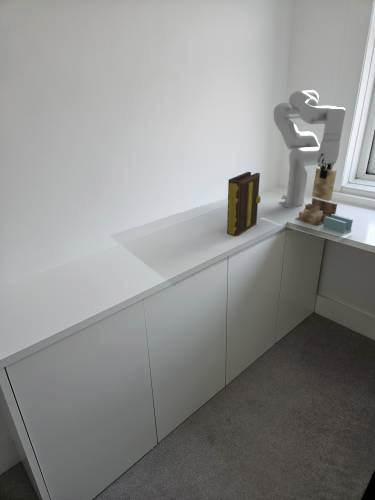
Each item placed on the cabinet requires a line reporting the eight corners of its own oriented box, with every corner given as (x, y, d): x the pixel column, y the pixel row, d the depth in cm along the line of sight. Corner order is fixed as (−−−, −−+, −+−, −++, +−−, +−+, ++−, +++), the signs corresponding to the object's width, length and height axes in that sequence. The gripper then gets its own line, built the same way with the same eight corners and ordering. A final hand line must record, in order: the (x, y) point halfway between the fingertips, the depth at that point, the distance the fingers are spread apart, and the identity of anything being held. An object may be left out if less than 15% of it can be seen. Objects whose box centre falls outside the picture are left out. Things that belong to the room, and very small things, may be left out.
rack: (293, 220, 163) (296, 203, 159) (311, 214, 170) (313, 197, 166) (316, 228, 153) (319, 210, 149) (333, 221, 160) (337, 203, 156)
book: (239, 237, 146) (242, 182, 136) (223, 233, 151) (224, 180, 140) (261, 222, 162) (264, 172, 151) (245, 219, 167) (248, 170, 156)
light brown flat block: (311, 196, 162) (316, 168, 156) (315, 195, 163) (319, 167, 157) (328, 200, 155) (333, 171, 149) (331, 199, 157) (336, 170, 150)
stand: (320, 229, 152) (322, 217, 149) (332, 225, 156) (334, 213, 154) (340, 236, 144) (343, 223, 142) (351, 231, 149) (354, 219, 146)
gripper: (334, 134, 153) (327, 173, 162) (313, 138, 145) (307, 179, 153) (349, 136, 148) (341, 176, 156) (328, 140, 140) (321, 182, 148)
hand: (324, 177), depth 155 cm, fingers closed on light brown flat block, 2 cm apart
